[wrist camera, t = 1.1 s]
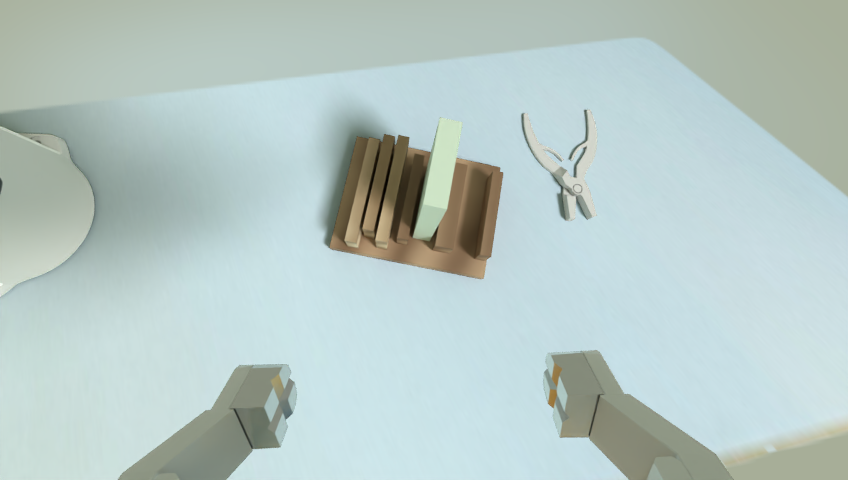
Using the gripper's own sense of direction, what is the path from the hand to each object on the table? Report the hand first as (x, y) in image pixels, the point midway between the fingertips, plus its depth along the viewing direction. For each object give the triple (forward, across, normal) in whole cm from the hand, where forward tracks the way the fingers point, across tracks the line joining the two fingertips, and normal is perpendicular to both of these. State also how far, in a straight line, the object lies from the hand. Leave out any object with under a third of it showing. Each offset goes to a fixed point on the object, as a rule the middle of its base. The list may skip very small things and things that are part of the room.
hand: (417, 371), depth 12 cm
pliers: (+39, -18, +6) cm, 43 cm away
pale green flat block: (+32, 0, +8) cm, 33 cm away
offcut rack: (+33, +1, +8) cm, 34 cm away
